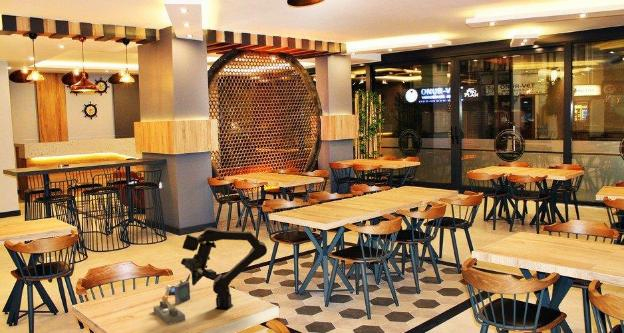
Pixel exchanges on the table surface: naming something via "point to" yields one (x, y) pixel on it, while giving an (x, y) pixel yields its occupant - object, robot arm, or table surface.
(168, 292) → the steel lever
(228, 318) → the table surface
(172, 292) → the camera
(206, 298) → the table surface
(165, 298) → the brass lever
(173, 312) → the switch panel
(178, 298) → the flask
